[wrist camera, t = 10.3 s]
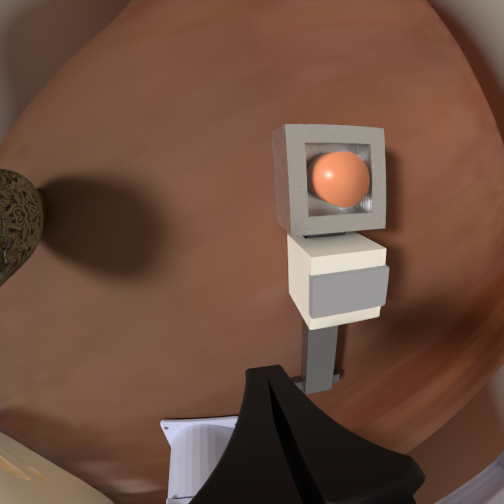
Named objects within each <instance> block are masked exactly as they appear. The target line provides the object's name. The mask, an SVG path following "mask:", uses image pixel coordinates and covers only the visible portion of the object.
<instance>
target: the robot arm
mask: <svg viewBox="0 0 504 504" xmlns="http://www.w3.org/2000/svg"><path fill="white" fill-rule="evenodd" d="M245 373H246V385H245V392H244V397H243V402H242V406H241V410H240V413H239V416H230V417H219V418H205V419H184V420H162V421H161V423H160V425H161V427H162V429H163V431H164V434H165V436H166V438H167V440H168V442H169V444H170V446H171V459H170V473H169V489H168V499H167V500H166V504H415V503H416V501H415V500H414V498H413V494H414V493H415V492H416V491H417V490H418V489H419V488H420V487H421V485H422V484H423V483H424V481H425V478H426V476H425V474H424V473H423V471H422V469H421V468H420V467H419V465H418V464H417V463H416V462H415V461H414V459H413V458H412V457H410V456H407V455H403V454H400V453H397V452H394V451H390V450H388V449H385V448H383V447H380V446H378V445H376V444H373V443H371V442H369V441H367V440H366V439H364V438H362V437H360V436H358V435H356V434H354V433H352V432H351V431H349V430H348V429H346V428H345V427H343V426H341V425H340V424H339V423H337V422H336V421H334V420H333V419H332V418H330V417H329V416H328V415H327V414H325V413H324V412H323V411H322V410H321V409H319V408H318V407H317V406H316V405H315V404H314V403H313V402H312V401H311V400H310V399H309V398H308V397H307V396H306V395H305V394H304V393H303V392H302V391H301V390H300V389H299V388H298V387H297V386H296V384H295V383H294V382H293V381H292V380H291V378H290V377H289V376H288V375H287V373H286V372H285V371H284V369H283V368H282V366H280V365H273V366H266V367H259V368H251V369H247V370H246V371H245ZM434 504H504V451H503V452H502V453H501V454H500V455H499V456H498V458H497V460H495V461H494V462H493V463H492V464H491V465H489V466H488V467H487V468H486V469H484V470H483V471H482V472H481V473H479V474H478V475H477V476H475V477H474V478H473V479H471V480H470V481H468V482H467V483H466V484H464V485H463V486H461V487H460V488H458V489H457V490H456V491H454V492H452V493H451V494H449V495H447V496H446V497H444V498H443V499H441V500H439V501H438V502H436V503H434Z"/></svg>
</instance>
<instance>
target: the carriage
mask: <svg viewBox="0 0 504 504" xmlns="http://www.w3.org/2000/svg"><path fill="white" fill-rule="evenodd" d="M287 241H288V271H289V294H290V295H291V297H292V299H293V301H294V302H295V304H296V306H297V308H298V310H299V311H300V313H301V315H302V317H303V318H304V320H305V322H306V324H307V325H308V327H309V329H310V330H314V329H320V328H326V327H331V326H336V325H341V324H346V323H351V322H356V321H361V320H366V319H370V318H375V317H379V314H380V307H381V306H383V305H385V301H386V294H387V286H388V277H389V267H388V266H387V265H385V261H386V248H385V247H383V246H381V245H379V244H377V243H375V242H373V241H372V240H370V239H368V238H366V237H364V236H362V235H360V234H358V233H356V232H354V231H347V232H343V235H338V236H328V237H317V238H307V239H305V238H304V237H303V236H293V237H291V236H290V235H289V234H287Z"/></svg>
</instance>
